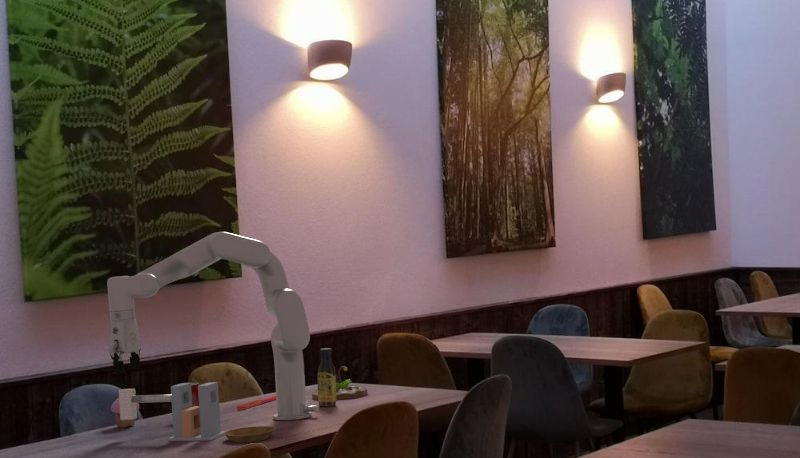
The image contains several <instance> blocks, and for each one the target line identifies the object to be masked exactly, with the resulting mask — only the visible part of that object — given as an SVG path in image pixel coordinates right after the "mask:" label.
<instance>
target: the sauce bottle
mask: <svg viewBox="0 0 800 458" xmlns="http://www.w3.org/2000/svg"><path fill="white" fill-rule="evenodd" d="M332 353H333V349H332V348H331V347H324V348H320V349H319V354H320V363H319V365H318V370H317V390H318V400H317V402H318V406H319V407H321V408H329V407H334V406H336V404H337V400H336V376H335V374H336V367H335V366H334V364H333V362H332V360H333V359H332Z"/></svg>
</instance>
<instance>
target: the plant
mask: <svg viewBox="0 0 800 458" xmlns="http://www.w3.org/2000/svg"><path fill="white" fill-rule="evenodd" d="M342 370H343V371H345V372H347V371H348V367H347V366H345V365H344V366H340V367H339V369H338V371H337V374H336V373H335V376H336V401H339V400H340V401H341V400H343V401H344V400H352V399H353V400H354V399H358V398H363V397H365V396H367V395H368V388H367V387H366V386H360V385H359V386H358V385H349V384H351V383H352V380H351V379H350V378H349V379H345V380H342V378H341V371H342ZM311 399H312V400H314V401H318V389H316V390H314V392H313V393H311Z"/></svg>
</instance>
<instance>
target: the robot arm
mask: <svg viewBox="0 0 800 458" xmlns="http://www.w3.org/2000/svg"><path fill="white" fill-rule="evenodd" d="M219 260H227V261H230V262H234V263H237V264H241V265H242V266H244V267H246V268H251V269H252V270H253V271H254V272H255V273H256V274H257V277H258V279H259V282H260V284H261V289H262V293H263V297H264V300H265V306H266V309H267V312H268V313H269V314H270V315H271V316H272V317H274V318H276V320H277V321H276V322H277V323H276V324H275V325H274V326H273V328H272V330H271V335H270V341H271V348H272V353H273V362H274V364H273V365H274V378H275V379H274V381H275V394H276V395H275V396H276V397H277V399H276V410H277V411H276V412H277V413H274V414H273V415H272V419H273V420H275V421H296V420H302V419H308V418H311V417H312V416H313V415H312V414H313V412H314V413H316V412H317V413H318V411H319V407H318V406H319V405H310V402H309V401H307V394H306V380H305V379H306V378H305V362H304V354H303V350H304V349H306V348H307V346H308V345H309V342H310V340H311V339H310V338H311V333H310V328H309V327H310V326H309V323H308V319H307V314H306V313H307V312H306V310H305V306H304V302H303V300H302V297H301V296H300V295H299V294H298V292H296V290H294V289H290V285H289V281H288V278H287V275H286V271H285V269H284V265H283V264H282V262H281V260H280V259H279V258H278V256H277V255H276V254H274V252H273V251H271V249H270V247H269V246H268V245H267V243H265V242H263V241H261V240H257V239H254V238H249V237H246V236H242V235H238V234H234V233H231V232H227V231H218V232H217V231H216V232H213V233H210V234H208V235H207V236H205V237H204V238H201V239H200V240H197V241H196V242H194V243H192V244H191V245H189V246H188V245H187V246H186V247H185V248H183V249H181V250H179V251H177V252H175V253H173V254H172V255H170V256H168V257H166V258H164V259H162V260H161V261H159V262H157V263H154V264H153V265H152V266H149V267H147V268H146V269H144V270H143V271H140V272H138V273H136V274H135V275H131V276H129V275H122V276H121V275H120V276H112V277H111V276H110V277H109V278H108V279H107V281H106V283H107V285H106V286H107V295H108V297H107V298H108V307H109V309H108V310H109V320H110V346H109V347H108V351H109V355H110V358H111V362H112V364H113V368H112V369H113V374H114V375H123V374H125V365H124V360H123V358H124V357H123V356H124V354H126V355H127V354H129V355H130V356H129V365H130V367H129V368H130V370H140V369H141V357H140V356H141V350H142V349H141V345H142V341H141V337H140V336H141V335H140V330H139V325H138V322H137V319H136V310H135V309H136V308H135V298H143V299H145V298H147V299H148V298H151V297H153V296H155V295H156V294H157V293H158V292H159V289H161V288H162V287H164V286H167V285H168V284H170V283H173V282H175V281H178V280H181V279H186V278H188V277H190V276H193V275H194V274H196V273H198V272H201V271H202V270H204V269H205V268H207V267H209V266H211V265H213V264H214V263H216V262H218V261H219Z"/></svg>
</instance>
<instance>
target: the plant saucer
mask: <svg viewBox="0 0 800 458" xmlns="http://www.w3.org/2000/svg"><path fill="white" fill-rule="evenodd" d="M274 431H275V427H272V426H265V425H262V426H261V425H260V426H248V427H247V426H246V427H239V428H235V429H229V430H226V432H225V433H224V434H225V435H224V436H225V437H226V438H227V439H228V440H229V441H230V442H232V443H253V442H259V441H264V440H267V439H269V438H270V437H271V435H272V434H273V433H274Z"/></svg>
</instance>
